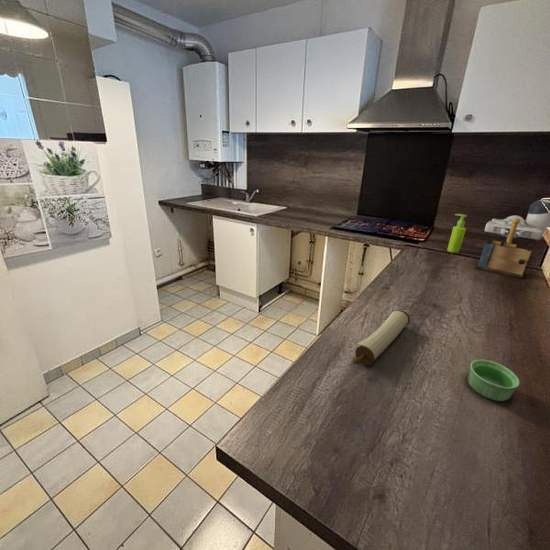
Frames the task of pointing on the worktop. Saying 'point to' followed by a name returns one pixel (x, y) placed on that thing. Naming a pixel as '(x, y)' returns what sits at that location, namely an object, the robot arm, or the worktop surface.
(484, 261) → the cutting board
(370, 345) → the bamboo tube
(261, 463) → the worktop surface
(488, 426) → the worktop surface
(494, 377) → the ramekin
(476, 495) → the worktop surface
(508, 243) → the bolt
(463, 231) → the soap dispenser
